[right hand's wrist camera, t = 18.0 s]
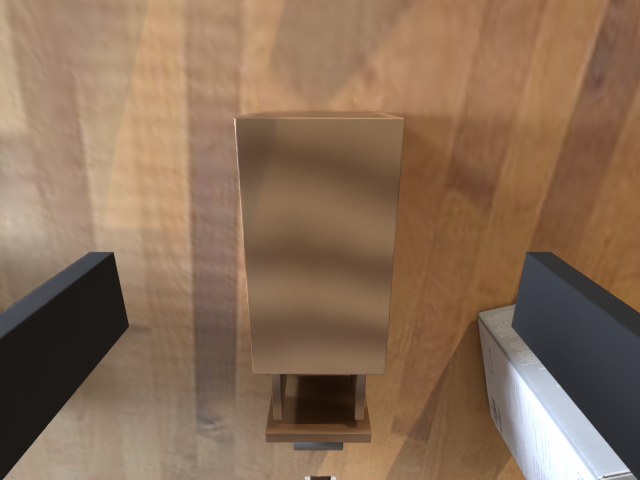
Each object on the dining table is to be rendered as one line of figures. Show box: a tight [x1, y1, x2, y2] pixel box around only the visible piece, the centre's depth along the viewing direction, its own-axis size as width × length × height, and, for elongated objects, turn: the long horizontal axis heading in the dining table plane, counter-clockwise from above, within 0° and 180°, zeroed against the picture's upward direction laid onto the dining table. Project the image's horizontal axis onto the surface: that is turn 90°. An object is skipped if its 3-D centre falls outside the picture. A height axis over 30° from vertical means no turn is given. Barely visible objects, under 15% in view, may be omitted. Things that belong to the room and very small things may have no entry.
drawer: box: [266, 374, 371, 450], centre depth 38 cm, size 25×10×8 cm, turn 0°
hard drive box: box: [477, 304, 637, 480], centre depth 35 cm, size 16×8×20 cm, turn 15°
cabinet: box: [235, 111, 405, 375], centre depth 34 cm, size 21×11×10 cm, turn 0°
